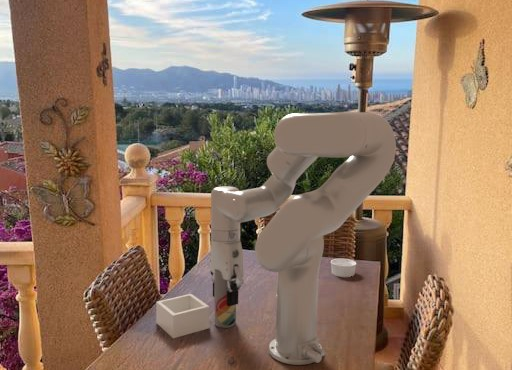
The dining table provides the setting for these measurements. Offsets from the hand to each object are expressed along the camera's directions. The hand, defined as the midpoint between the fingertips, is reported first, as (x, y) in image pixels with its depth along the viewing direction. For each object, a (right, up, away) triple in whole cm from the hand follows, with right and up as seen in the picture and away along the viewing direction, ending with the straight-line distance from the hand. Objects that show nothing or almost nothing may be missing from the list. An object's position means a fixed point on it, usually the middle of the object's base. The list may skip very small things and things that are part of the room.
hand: (225, 299), depth 126 cm
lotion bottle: (0, -7, +1) cm, 7 cm away
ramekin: (+39, -1, +41) cm, 57 cm away
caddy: (-11, -7, -1) cm, 13 cm away
